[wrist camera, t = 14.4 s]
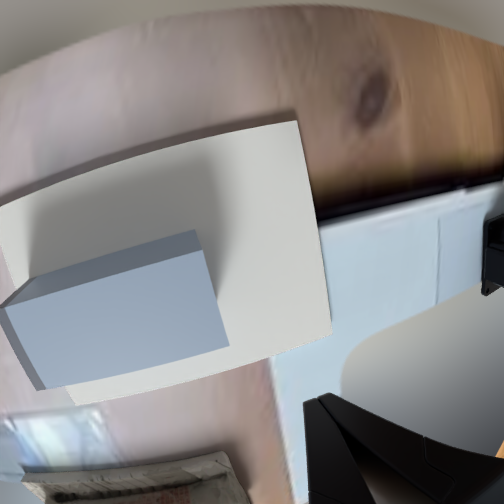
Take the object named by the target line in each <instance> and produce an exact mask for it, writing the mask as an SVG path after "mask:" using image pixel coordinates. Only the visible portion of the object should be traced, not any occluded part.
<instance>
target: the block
mask: <svg viewBox="0 0 504 504" xmlns="http://www.w3.org/2000/svg"><path fill="white" fill-rule="evenodd" d="M0 324H1V326H2V328H3V330H4V332H5V334H6V336H7V338H8V340H9V342H10V344H11V346H12V348H13V350H14V352H15V354H16V356H17V358H18V360H19V361H20V363H21V365H22V367H23V369H24V370H25V372H26V374H27V376H28V377H29V379H30V381H31V382H32V384H33V386H34V387H35V389H36V390H37V391H39V390H45V389H51V388H57V387H62V386H68V385H73V384H78V383H83V382H88V381H93V380H98V379H103V378H108V377H112V376H117V375H121V374H126V373H130V372H134V371H138V370H143V369H147V368H151V367H155V366H159V365H163V364H167V363H171V362H174V361H178V360H182V359H186V358H189V357H193V356H197V355H200V354H204V353H207V352H211V351H214V350H218V349H221V348H224V347H228V346H230V344H229V341H228V338H227V335H226V331H225V328H224V324H223V321H222V318H221V314H220V311H219V307H218V304H217V300H216V297H215V293H214V290H213V286H212V283H211V279H210V276H209V272H208V268H207V265H206V261H205V257H204V254H203V250H202V247H201V245H200V242H199V240H198V237H197V234H196V232H195V229H193V230H190V231H186V232H183V233H179V234H175V235H172V236H168V237H165V238H161V239H158V240H154V241H151V242H147V243H144V244H140V245H137V246H134V247H130V248H127V249H123V250H120V251H117V252H113V253H110V254H107V255H103V256H100V257H97V258H94V259H90V260H87V261H84V262H81V263H77V264H74V265H71V266H68V267H65V268H62V269H58V270H55V271H52V272H49V273H46V274H43V275H40V276H37V277H34V278H31V279H28V280H27V281H26V282H25V283H24V284H23V285H22V286H21V287H19V288H18V289H17V290H16V291H15V292H14V293H13V294H12V295H11V296H10V297H8V298H7V299H6V300H5V301H4V302H3V303H2V304H1V305H0Z"/></svg>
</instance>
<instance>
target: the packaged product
mask: <svg viewBox="0 0 504 504" xmlns="http://www.w3.org/2000/svg"><path fill="white" fill-rule="evenodd" d="M21 482H22V483H23V484H24V485H25V486H26V487H27V488H28V489H29V490H30V491H31V492H33V493H34V494H35V495H36V496H37V497H38V498H39V499H40V500H42V501H43V502H44V503H45V504H250V502H249V500H248V498H247V495H246V493H245V491H244V490H243V488H242V487H241V485H240V483H239V482H238V480H237V478H236V476H235V473H234V471H233V468H232V466H231V463H230V460H229V458H228V456H227V455H226V453H225V452H223V451H219V452H215V453H211V454H207V455H202V456H198V457H193V458H189V459H185V460H178V461H172V462H165V463H158V464H149V465H141V466H134V467H125V468H115V469H102V470H88V471H70V472H46V473H25V475H24V477H23V478H22V480H21Z"/></svg>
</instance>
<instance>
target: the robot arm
mask: <svg viewBox="0 0 504 504" xmlns="http://www.w3.org/2000/svg"><path fill="white" fill-rule="evenodd" d="M500 287H503V288H504V214H502V215H500V216H497V217H495V218H493V219H490V220H488V221H486V223H485V225H484V257H483V275H482V288H481V293H482V295H484V296H488V295H489V294H491V293H492V292H494V291H495V290H497V289H498V288H500ZM303 412H304V426H305V441H306V456H307V473H308V491H309V493H308V496H309V504H504V458H498V457H493V456H488V455H484V454H479V453H475V452H470V451H466V450H462V449H459V448H456V447H452V446H449V445H446V444H443V443H441V442H438V441H435V440H432V439H430V438H428V437H424V438H423V435H420V434H418V433H416V432H413V431H411V430H409V429H407V428H404V427H402V426H400V425H397V424H395V423H393V422H391V421H389V420H386V419H384V418H382V417H380V416H378V415H375V414H373V413H371V412H369V411H367V410H365V409H363V408H361V407H358V406H357V405H355V404H352V403H350V402H348V401H346V400H344V399H342V398H340V397H338V396H336V395H334V394H332V393H326V394H323V395H321V396H318V397H317V398H313V399H310V400H307V401H305V402H303Z"/></svg>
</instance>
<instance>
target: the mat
mask: <svg viewBox="0 0 504 504" xmlns="http://www.w3.org/2000/svg"><path fill="white" fill-rule="evenodd" d="M193 229H195V232H196V234H197V237H198V240H199V242H200V245H201V247H202V250H203V254H204V257H205V261H206V265H207V268H208V272H209V276H210V279H211V283H212V286H213V290H214V293H215V297H216V300H217V304H218V307H219V311H220V314H221V318H222V321H223V324H224V328H225V331H226V335H227V338H228V341H229V344H230V346H228V347H224V348H221V349H218V350H214V351H211V352H207V353H204V354H200V355H197V356H193V357H189V358H186V359H182V360H178V361H174V362H171V363H167V364H163V365H159V366H155V367H151V368H147V369H143V370H138V371H134V372H130V373H126V374H121V375H117V376H112V377H108V378H103V379H98V380H93V381H88V382H83V383H78V384H73V385H68V386H64V387H65V388H66V390H67V392H68V393H69V395H70V397H71V398H72V400H73V401H74V403H75V404H76V406H78V405H84V404H89V403H95V402H100V401H105V400H110V399H115V398H120V397H125V396H130V395H134V394H139V393H143V392H148V391H152V390H156V389H160V388H164V387H168V386H172V385H176V384H180V383H184V382H188V381H191V380H195V379H199V378H202V377H206V376H210V375H213V374H217V373H220V372H223V371H227V370H230V369H233V368H237V367H240V366H243V365H246V364H249V363H253V362H256V361H259V360H262V359H265V358H268V357H271V356H274V355H277V354H280V353H283V352H286V351H288V350H291V349H294V348H297V347H300V346H302V345H305V344H308V343H311V342H313V341H316V340H319V339H321V338H324V337H327V336H329V335H332V326H331V317H330V309H329V302H328V294H327V287H326V280H325V273H324V266H323V259H322V253H321V246H320V240H319V234H318V228H317V222H316V216H315V210H314V205H313V199H312V194H311V188H310V183H309V178H308V173H307V168H306V163H305V158H304V153H303V148H302V143H301V138H300V134H299V129H298V125H297V120H295V121H289V122H283V123H277V124H271V125H265V126H260V127H255V128H249V129H244V130H239V131H234V132H230V133H225V134H220V135H216V136H211V137H207V138H203V139H199V140H194V141H190V142H186V143H182V144H178V145H175V146H171V147H167V148H163V149H160V150H156V151H153V152H149V153H146V154H142V155H139V156H135V157H132V158H129V159H125V160H122V161H119V162H116V163H113V164H110V165H107V166H103V167H100V168H98V169H95V170H92V171H89V172H86V173H83V174H80V175H77V176H75V177H72V178H69V179H66V180H64V181H61V182H58V183H56V184H53V185H51V186H48V187H46V188H43V189H41V190H38V191H36V192H33V193H31V194H28V195H26V196H24V197H21V198H19V199H17V200H14V201H12V202H10V203H8V204H5V205H3V206H1V207H0V245H1V248H2V251H3V254H4V257H5V260H6V263H7V266H8V269H9V272H10V274H11V277H12V280H13V282H14V285H15V287H16V290H17V289H18V288H19V287H21V286H22V285H23V284H24V283H25V282H26V281H27V280H28V279H31V278H34V277H37V276H40V275H43V274H46V273H49V272H52V271H55V270H58V269H62V268H65V267H68V266H71V265H74V264H77V263H81V262H84V261H87V260H90V259H94V258H97V257H100V256H103V255H107V254H110V253H113V252H117V251H120V250H123V249H127V248H130V247H134V246H137V245H140V244H144V243H147V242H151V241H154V240H158V239H161V238H165V237H168V236H172V235H175V234H179V233H183V232H186V231H190V230H193Z"/></svg>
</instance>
